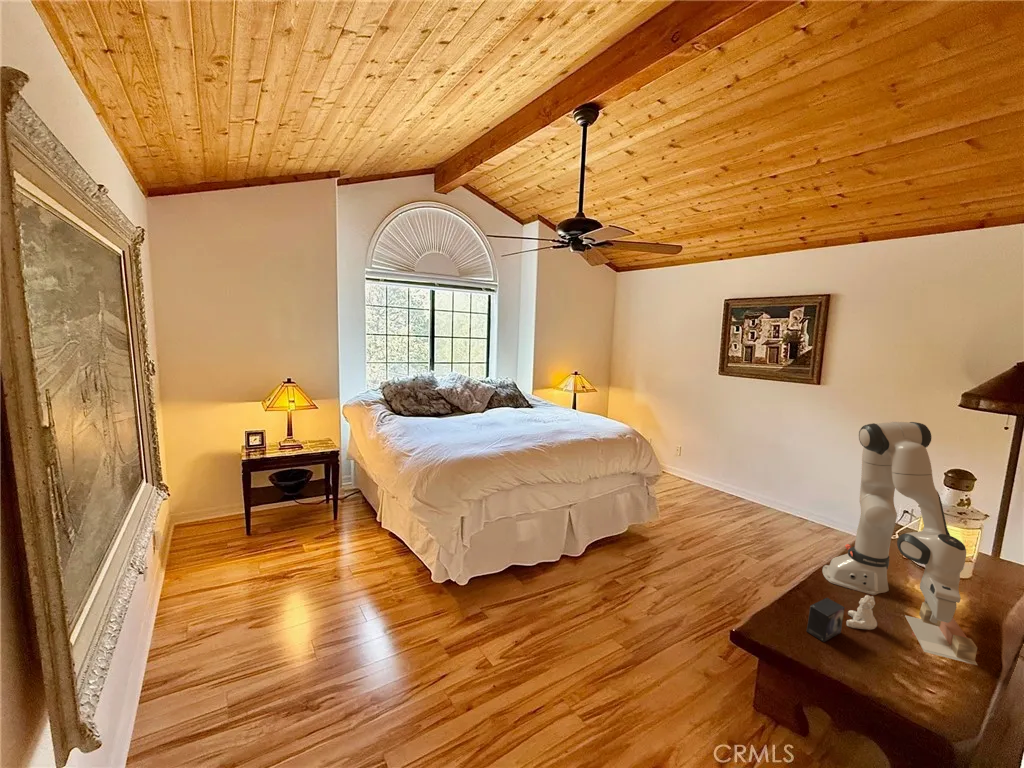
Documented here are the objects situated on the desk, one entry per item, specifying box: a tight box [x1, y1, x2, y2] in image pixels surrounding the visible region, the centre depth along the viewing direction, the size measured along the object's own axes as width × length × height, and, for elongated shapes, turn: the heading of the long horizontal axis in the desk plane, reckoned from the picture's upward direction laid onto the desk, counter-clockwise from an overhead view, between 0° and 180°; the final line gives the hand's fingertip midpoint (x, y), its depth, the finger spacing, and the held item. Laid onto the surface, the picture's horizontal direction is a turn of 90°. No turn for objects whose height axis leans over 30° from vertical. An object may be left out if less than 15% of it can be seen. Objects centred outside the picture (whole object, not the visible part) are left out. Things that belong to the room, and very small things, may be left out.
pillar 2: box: [951, 635, 978, 661], centre depth 152 cm, size 4×4×5 cm
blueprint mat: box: [904, 614, 979, 666], centre depth 160 cm, size 14×20×1 cm, turn 154°
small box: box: [806, 597, 845, 643], centre depth 162 cm, size 11×6×10 cm, turn 117°
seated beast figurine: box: [845, 594, 878, 631], centre depth 166 cm, size 10×9×12 cm
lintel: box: [939, 617, 968, 645], centre depth 161 cm, size 4×12×4 cm, turn 154°
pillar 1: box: [919, 601, 941, 627], centre depth 161 cm, size 4×4×5 cm
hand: (930, 616), depth 161 cm, fingers closed on pillar 1, 4 cm apart
